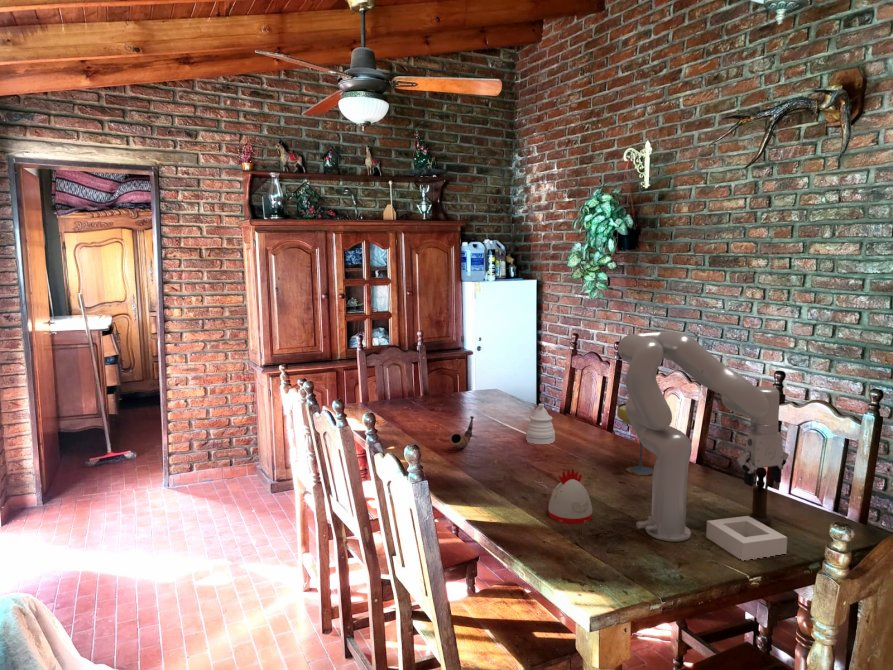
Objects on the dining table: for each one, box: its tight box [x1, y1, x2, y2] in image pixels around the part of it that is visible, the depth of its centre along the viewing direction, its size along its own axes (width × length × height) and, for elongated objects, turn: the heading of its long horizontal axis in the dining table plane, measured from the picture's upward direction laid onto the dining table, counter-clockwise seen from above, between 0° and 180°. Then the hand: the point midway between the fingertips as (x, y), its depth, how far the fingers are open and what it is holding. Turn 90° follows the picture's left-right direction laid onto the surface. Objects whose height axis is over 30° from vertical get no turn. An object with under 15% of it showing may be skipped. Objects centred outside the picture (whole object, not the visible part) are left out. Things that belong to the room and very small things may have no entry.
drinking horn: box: [449, 415, 475, 450], centre depth 273 cm, size 5×29×10 cm, turn 163°
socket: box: [705, 515, 788, 562], centre depth 174 cm, size 14×15×5 cm
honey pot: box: [525, 403, 556, 444], centre depth 276 cm, size 13×13×18 cm
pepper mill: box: [746, 467, 772, 528], centre depth 188 cm, size 7×6×18 cm
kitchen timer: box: [547, 468, 593, 525], centre depth 196 cm, size 14×14×15 cm
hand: (762, 483), depth 187 cm, fingers open, 9 cm apart
